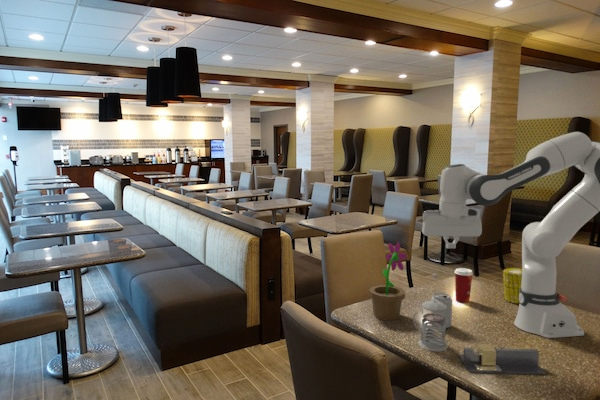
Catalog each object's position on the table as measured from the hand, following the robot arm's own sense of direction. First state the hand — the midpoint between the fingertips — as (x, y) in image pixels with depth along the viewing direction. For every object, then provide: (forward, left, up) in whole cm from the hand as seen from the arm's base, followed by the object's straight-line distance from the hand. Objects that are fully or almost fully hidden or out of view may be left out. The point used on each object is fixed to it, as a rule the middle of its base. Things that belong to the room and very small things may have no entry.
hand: (450, 248), depth 148 cm
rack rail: (-9, +24, -31) cm, 40 cm away
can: (+1, -5, -31) cm, 32 cm away
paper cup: (-16, -32, -31) cm, 48 cm away
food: (-39, -33, -31) cm, 60 cm away
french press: (+9, +11, -31) cm, 34 cm away
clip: (-5, +24, -30) cm, 39 cm away
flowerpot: (+20, -14, -31) cm, 40 cm away
